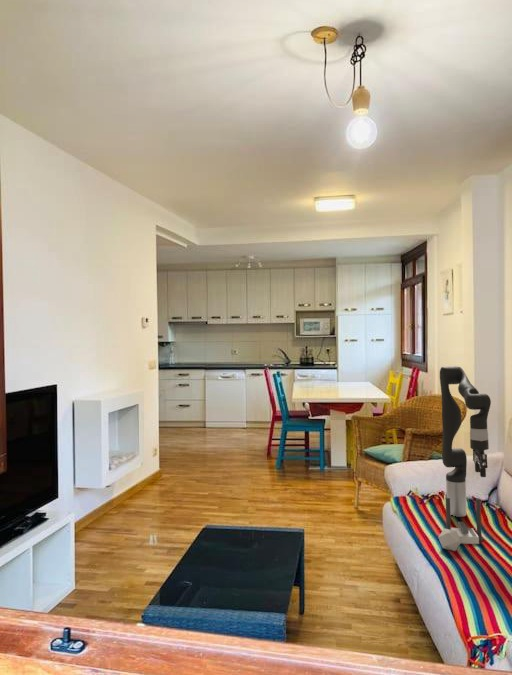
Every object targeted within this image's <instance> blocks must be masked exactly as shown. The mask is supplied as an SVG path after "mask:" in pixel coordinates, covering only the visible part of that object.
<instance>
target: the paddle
mask: <svg viewBox="0 0 512 675" xmlns="http://www.w3.org/2000/svg"><path fill="white" fill-rule="evenodd" d="M468 528H469V526H466V527H462V534H469V532H468Z"/></svg>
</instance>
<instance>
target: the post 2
mask: <svg viewBox="0 0 512 675" xmlns="http://www.w3.org/2000/svg"><path fill="white" fill-rule="evenodd" d="M475 502H476V503H475V505H476V506H475V508H476V509H475V510H476V513H475V514H476V534H477V535H478V536H479V542H483V541H484V537H483V536H482V512H481V511H482V506H481V498H479V497H478V498H475Z"/></svg>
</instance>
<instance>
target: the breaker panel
mask: <svg viewBox="0 0 512 675" xmlns="http://www.w3.org/2000/svg"><path fill="white" fill-rule="evenodd" d="M451 530H455V531H457V533H458V535H459V538H460V540H461V543H460V544H466V545H467V544H468V545H469V544H470V545H471V544H474V545H480V541H479V536H478V535H477V531H475V530H474V528H473V527H468V532H469V534H462V531H461V530H460V528H459V527H451Z"/></svg>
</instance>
